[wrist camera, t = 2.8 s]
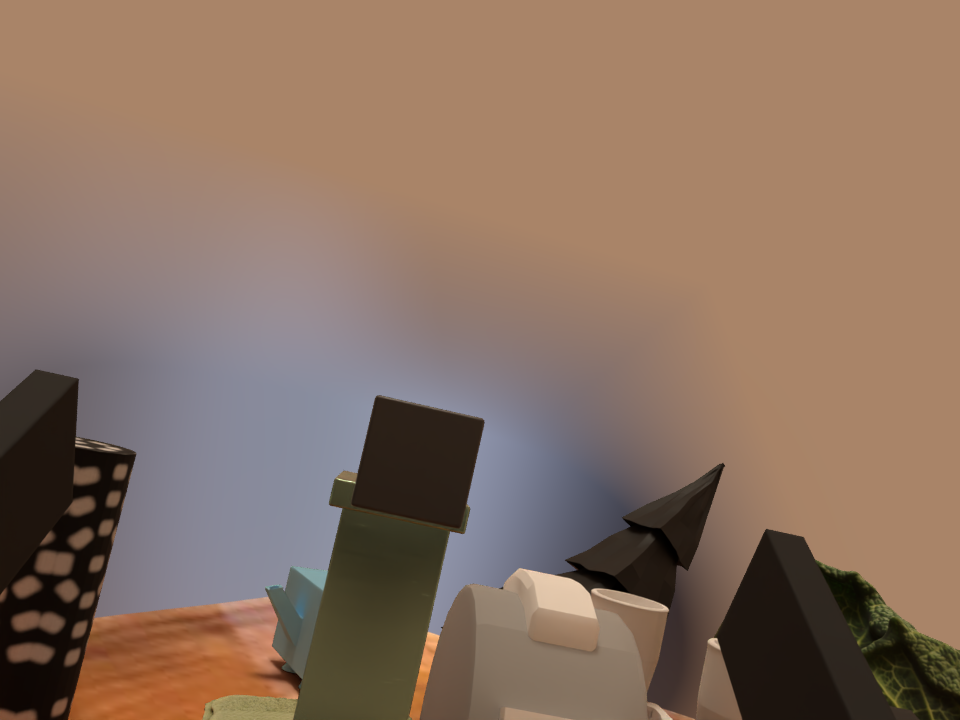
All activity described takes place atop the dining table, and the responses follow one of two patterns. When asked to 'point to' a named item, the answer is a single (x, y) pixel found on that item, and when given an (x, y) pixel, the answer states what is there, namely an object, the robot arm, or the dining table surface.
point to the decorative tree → (650, 545)
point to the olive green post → (372, 613)
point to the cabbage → (898, 650)
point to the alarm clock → (534, 656)
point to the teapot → (296, 615)
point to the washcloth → (251, 708)
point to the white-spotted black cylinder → (61, 590)
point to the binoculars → (647, 626)
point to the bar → (417, 462)
